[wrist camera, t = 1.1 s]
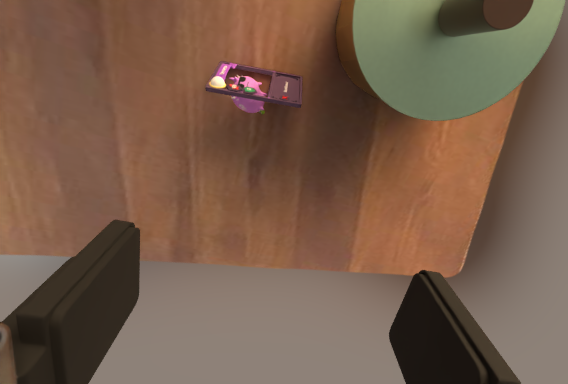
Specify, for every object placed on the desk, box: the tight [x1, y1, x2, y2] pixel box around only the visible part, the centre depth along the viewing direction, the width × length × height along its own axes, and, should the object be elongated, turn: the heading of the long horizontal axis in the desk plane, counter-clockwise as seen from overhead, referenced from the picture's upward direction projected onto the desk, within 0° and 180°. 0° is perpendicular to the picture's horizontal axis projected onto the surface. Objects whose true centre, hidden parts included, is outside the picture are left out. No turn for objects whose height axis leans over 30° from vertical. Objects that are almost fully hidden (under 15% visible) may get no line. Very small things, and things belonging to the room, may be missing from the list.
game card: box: [206, 61, 303, 114], centre depth 33 cm, size 7×5×9 cm
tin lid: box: [351, 0, 565, 121], centre depth 20 cm, size 15×15×7 cm
